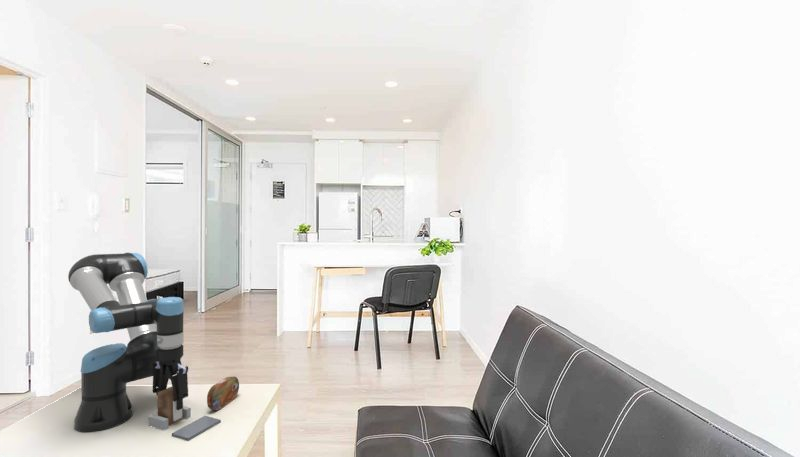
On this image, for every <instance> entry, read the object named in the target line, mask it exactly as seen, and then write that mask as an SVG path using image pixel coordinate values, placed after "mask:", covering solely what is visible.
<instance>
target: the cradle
mask: <svg viewBox="0 0 800 457" xmlns="http://www.w3.org/2000/svg"><path fill="white" fill-rule="evenodd" d="M191 411H192V409H191V407H189V406H185V405H183V419H186V420H188V419H189V418H191V416H192V414H191ZM151 426H152V427H151ZM148 427H151V428H154V427H155V429H156V430H157V429H158V430H161V431H166V430H167V429H169V426H168V418H164V417H161V416H158V414H154V413H153V414H151V415H149V416H148Z"/></svg>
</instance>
